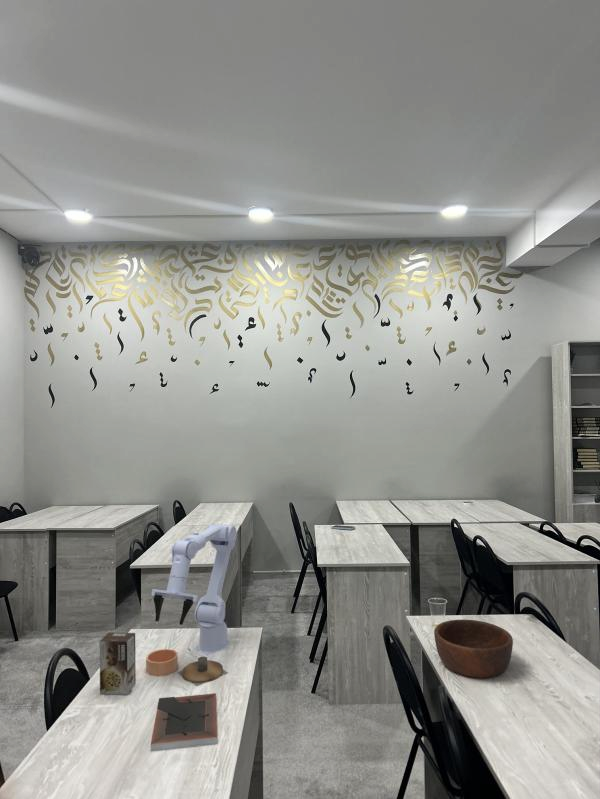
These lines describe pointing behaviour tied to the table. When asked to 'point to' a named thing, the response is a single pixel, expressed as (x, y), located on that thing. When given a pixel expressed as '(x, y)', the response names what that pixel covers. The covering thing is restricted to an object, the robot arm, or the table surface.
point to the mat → (203, 682)
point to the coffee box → (117, 663)
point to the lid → (202, 671)
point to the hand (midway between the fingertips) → (168, 622)
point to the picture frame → (185, 722)
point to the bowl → (162, 662)
